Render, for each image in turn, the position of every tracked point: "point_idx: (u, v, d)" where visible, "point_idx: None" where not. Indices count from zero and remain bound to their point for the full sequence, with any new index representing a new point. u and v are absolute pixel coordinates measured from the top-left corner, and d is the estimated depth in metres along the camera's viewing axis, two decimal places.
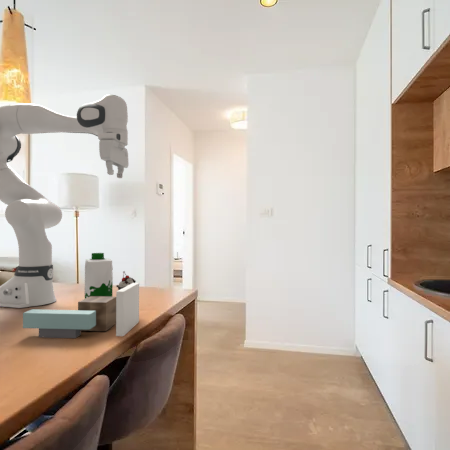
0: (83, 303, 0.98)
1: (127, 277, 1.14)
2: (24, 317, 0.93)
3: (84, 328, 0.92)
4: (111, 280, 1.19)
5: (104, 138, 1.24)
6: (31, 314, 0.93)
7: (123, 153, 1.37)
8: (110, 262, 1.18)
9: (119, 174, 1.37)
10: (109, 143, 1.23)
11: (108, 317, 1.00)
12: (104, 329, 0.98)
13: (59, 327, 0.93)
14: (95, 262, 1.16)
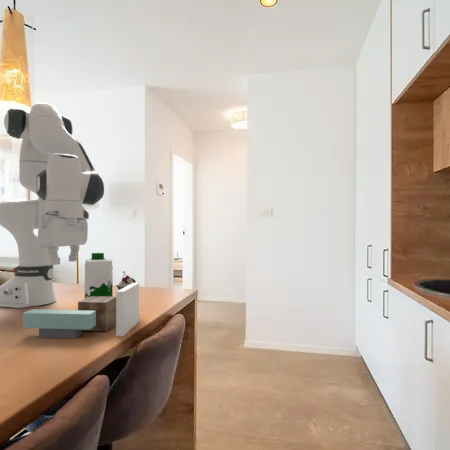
0: (83, 303, 0.98)
1: (127, 277, 1.14)
2: (24, 317, 0.93)
3: (84, 328, 0.92)
4: (111, 280, 1.19)
5: None
6: (31, 314, 0.93)
7: None
8: (110, 262, 1.18)
9: None
10: None
11: (108, 317, 1.00)
12: (104, 329, 0.98)
13: (59, 327, 0.93)
14: (95, 262, 1.16)
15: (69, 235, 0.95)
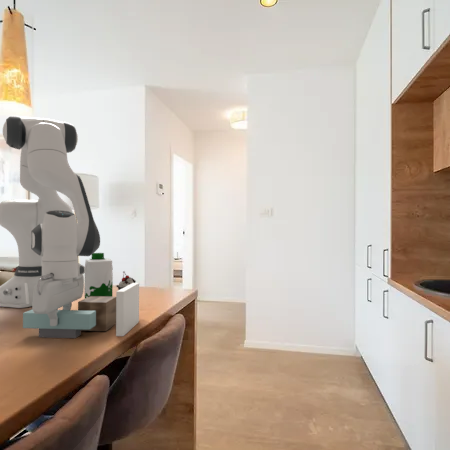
0: (83, 303, 0.98)
1: (127, 277, 1.14)
2: (24, 317, 0.93)
3: (84, 328, 0.92)
4: (111, 280, 1.19)
5: None
6: (31, 314, 0.93)
7: None
8: (110, 262, 1.18)
9: None
10: None
11: (108, 317, 1.00)
12: (104, 329, 0.98)
13: (59, 327, 0.93)
14: (95, 262, 1.16)
15: (65, 295, 0.94)
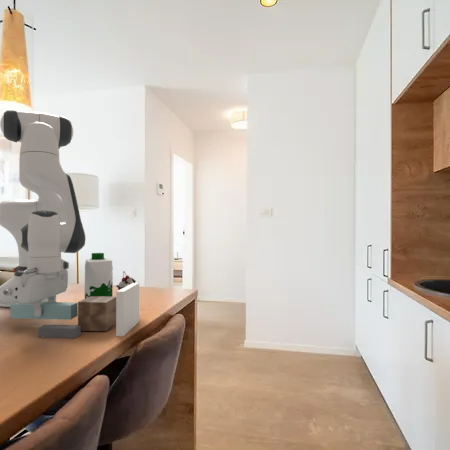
0: (83, 303, 0.98)
1: (127, 277, 1.14)
2: (11, 308, 1.02)
3: (66, 318, 1.01)
4: (111, 280, 1.19)
5: None
6: (18, 305, 1.02)
7: None
8: (110, 262, 1.18)
9: None
10: None
11: (108, 317, 1.00)
12: (104, 329, 0.98)
13: (43, 317, 1.01)
14: (95, 262, 1.16)
15: (48, 288, 1.02)
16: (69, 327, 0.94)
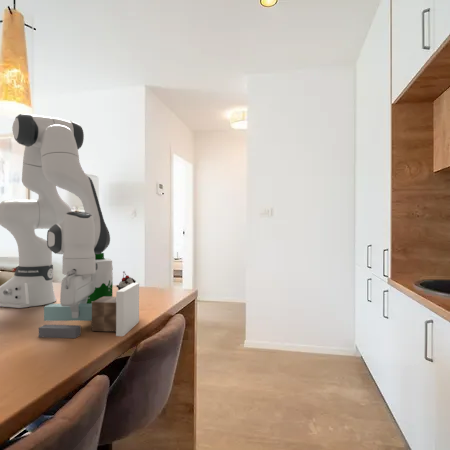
0: (97, 303, 0.98)
1: (127, 277, 1.14)
2: (45, 310, 1.00)
3: None
4: (111, 280, 1.19)
5: None
6: (52, 307, 1.00)
7: None
8: (110, 262, 1.18)
9: None
10: None
11: None
12: None
13: (79, 319, 1.01)
14: None
15: (84, 290, 1.02)
16: (69, 327, 0.94)
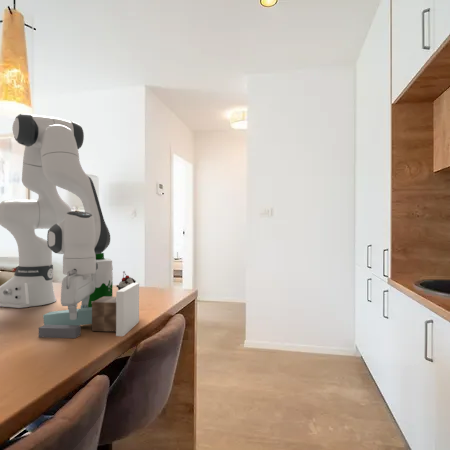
0: (97, 303, 0.98)
1: (127, 277, 1.14)
2: (45, 319, 1.01)
3: None
4: (111, 280, 1.19)
5: None
6: (51, 315, 1.01)
7: None
8: (110, 262, 1.18)
9: None
10: None
11: None
12: None
13: (79, 323, 1.01)
14: None
15: (84, 289, 1.02)
16: (69, 327, 0.94)
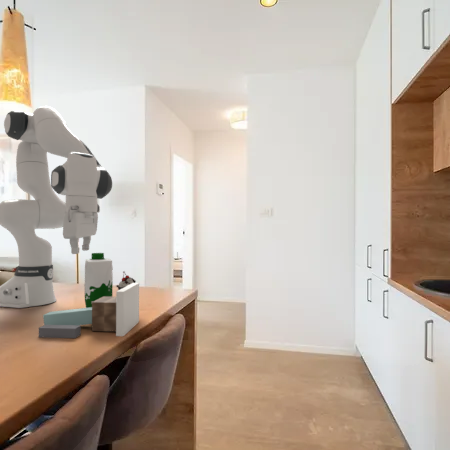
0: (97, 303, 0.98)
1: (127, 277, 1.14)
2: (45, 319, 1.01)
3: None
4: (111, 280, 1.19)
5: None
6: (51, 315, 1.01)
7: None
8: (110, 262, 1.18)
9: None
10: None
11: None
12: None
13: (79, 323, 1.01)
14: (95, 262, 1.16)
15: (86, 227, 1.06)
16: (69, 327, 0.94)
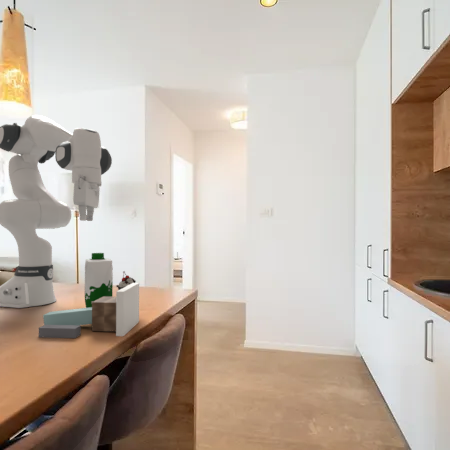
0: (97, 303, 0.98)
1: (127, 277, 1.14)
2: (45, 319, 1.01)
3: None
4: (111, 280, 1.19)
5: None
6: (51, 315, 1.01)
7: None
8: (110, 262, 1.18)
9: None
10: None
11: None
12: None
13: (79, 323, 1.01)
14: (95, 262, 1.16)
15: (91, 197, 1.14)
16: (69, 327, 0.94)
